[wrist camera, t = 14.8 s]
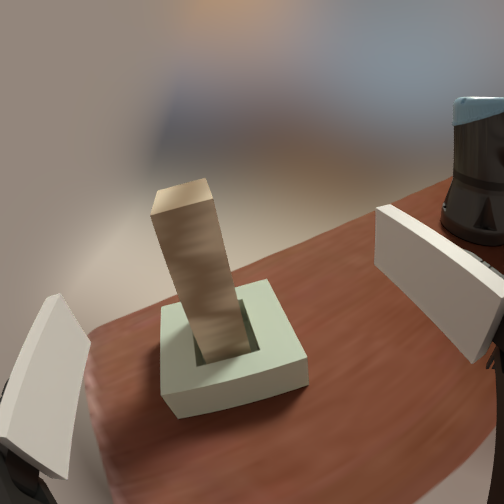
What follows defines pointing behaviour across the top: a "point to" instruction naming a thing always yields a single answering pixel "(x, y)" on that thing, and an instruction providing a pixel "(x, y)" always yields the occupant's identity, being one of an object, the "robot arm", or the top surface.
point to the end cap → (234, 369)
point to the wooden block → (200, 268)
